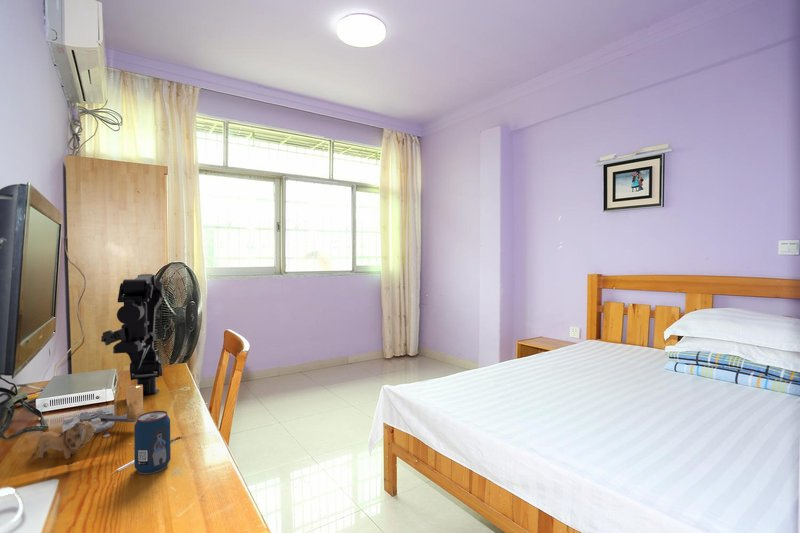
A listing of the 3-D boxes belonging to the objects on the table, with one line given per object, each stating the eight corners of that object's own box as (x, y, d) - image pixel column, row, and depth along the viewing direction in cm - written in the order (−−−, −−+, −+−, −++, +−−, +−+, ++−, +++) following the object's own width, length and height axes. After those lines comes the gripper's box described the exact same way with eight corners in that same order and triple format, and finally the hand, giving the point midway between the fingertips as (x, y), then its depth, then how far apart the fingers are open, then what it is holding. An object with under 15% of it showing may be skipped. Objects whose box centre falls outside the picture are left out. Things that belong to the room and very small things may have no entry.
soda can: (148, 459, 93) (147, 409, 92) (177, 460, 92) (176, 409, 92) (126, 475, 86) (126, 421, 86) (158, 476, 86) (157, 421, 85)
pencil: (180, 439, 104) (180, 436, 104) (111, 477, 86) (111, 473, 86) (178, 438, 104) (178, 436, 104) (108, 476, 86) (108, 473, 86)
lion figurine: (100, 453, 96) (100, 417, 95) (85, 465, 90) (84, 426, 90) (35, 456, 94) (34, 419, 94) (15, 468, 89) (14, 428, 89)
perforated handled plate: (51, 436, 101) (50, 392, 101) (87, 419, 112) (86, 379, 112) (126, 438, 100) (125, 393, 100) (155, 421, 111) (155, 380, 111)
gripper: (117, 316, 128) (118, 364, 128) (91, 325, 110) (92, 380, 110) (156, 315, 131) (156, 361, 132) (137, 323, 113) (137, 377, 114)
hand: (136, 369), depth 122 cm, fingers closed
